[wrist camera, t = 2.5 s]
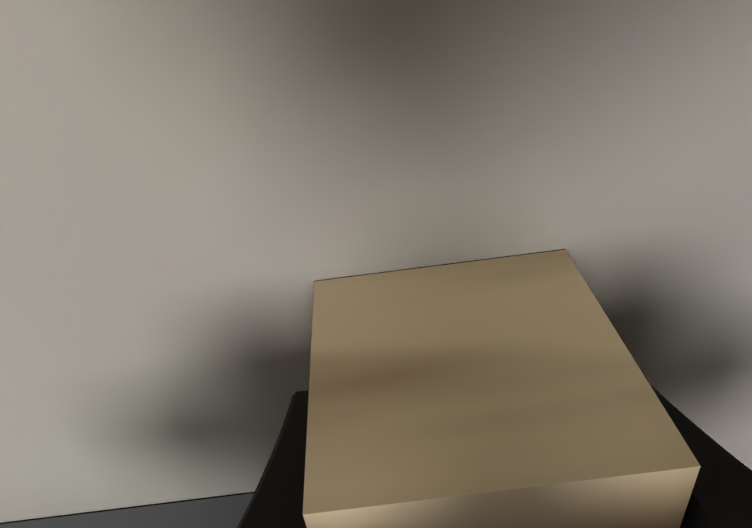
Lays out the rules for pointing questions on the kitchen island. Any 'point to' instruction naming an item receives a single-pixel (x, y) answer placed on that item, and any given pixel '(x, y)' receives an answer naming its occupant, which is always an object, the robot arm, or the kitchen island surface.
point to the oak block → (483, 405)
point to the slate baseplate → (155, 516)
